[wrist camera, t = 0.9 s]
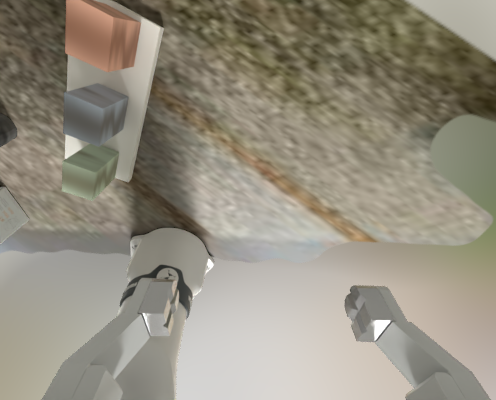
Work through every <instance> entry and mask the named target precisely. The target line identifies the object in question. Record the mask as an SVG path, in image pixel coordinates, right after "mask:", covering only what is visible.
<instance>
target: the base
mask: <svg viewBox="0 0 496 400" xmlns="http://www.w3.org/2000/svg"><path fill="white" fill-rule="evenodd" d="M94 1H97V2H101V3H104V4H107V5H109V6H111V7H113V8H114V9H116V10H118V11H120V12H122V13H124V14H126V15H128V16H130V17H131V18H133V19H135V20H137V21H139V22H141V27H140V33H139V39H138V45H137V51H136V57H135V63H134V67H130V68H125V69H121V70H116V71H111V72H105V71H103V70H101V69H99V68H97V67H95V66H92V65H90V64H88V63H86V62H84V61H81V60H79V59H77V58H75V57H73V56H71V55H68V68H67V91H71V90H75V89H78V88H82V87H85V86H89V85H93V84H96V83H99V84H101V85H103V86H106V87H108V88H110V89H112V90H115V91H117V92H119V93H121V94H124V95H126V96H128V97H129V99H128V104H127V110H126V116H125V122H124V128H123V130H122V131H120V132H119V133H118V134H116V135H115V136H113V137H112V138H111V139H109V140H108V141H106V142H105V143H104V144H102V146H104V147H107V148H110V149H112V150H115V151H118V152H119V158H118V164H117V170H116V176H115V178H117V179H119V180H122V181H125V182H129V181H130V180H131V179H132V174H133V170H134V165H135V160H136V156H137V151H138V146H139V142H140V137H141V132H142V128H143V123H144V118H145V114H146V109H147V104H148V100H149V95H150V91H151V86H152V81H153V77H154V72H155V67H156V63H157V58H158V53H159V49H160V44H161V39H162V35H163V30H164V28H163V27H161V26H159V25H158V24H156V23H154V22H152V21H150V20H148V19H146V18H145V17H143V16H141V15H139V14H137V13H135V12H133V11H132V10H130V9H128V8H126V7H124V6H122V5H120V4H119V3H117V2H115V1H113V0H94ZM88 144H90V143H87V142H85V141H82V140H79V139H77V138H74V137H71V136H69V135H66V139H65V159H67V158H68V157H70V156H71V155H73V154H74V153H76V152H78V151H79V150H81V149H82V148H84V147H85V146H87V145H88Z"/></svg>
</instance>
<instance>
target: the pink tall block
mask: <svg viewBox="0 0 496 400" xmlns="http://www.w3.org/2000/svg"><path fill="white" fill-rule="evenodd" d="M140 27H141V22H139V21H137V20H135V19H133V18H131V17H130V16H128V15H126V14H124V13H122V12H120V11H118V10H116V9H114V8H113V7H111V6H109V5H107V4H104V3H101V2H97V1H94V0H66V34H65V53H66V54H68V55H71V56H73V57H75V58H77V59H79V60H81V61H84V62H86V63H88V64H90V65H92V66H95V67H97V68H99V69H101V70H103V71H105V72H111V71H116V70H121V69H125V68H130V67H134V63H135V57H136V51H137V45H138V39H139V33H140Z"/></svg>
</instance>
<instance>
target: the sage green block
mask: <svg viewBox="0 0 496 400" xmlns="http://www.w3.org/2000/svg"><path fill="white" fill-rule="evenodd" d="M118 158H119V152H118V151H115V150H112V149H110V148H107V147H104V146H102V145H101V146H99V147H98V146H95V145H93V144H88V145H87V146H85V147H84V148H82V149H81V150H79V151H78V152H76V153H74V154H73V155H71V156H70V157H68V158H67V159H65V160H64V161H63V168H62V191H63V192H67V193H70V194H73V195H76V196H79V197H82V198H85V199H88V200H92V201H93V200H94V199H95V198H96V197H97V196H98V195H99V194H100V193H101V192H102V191H103V190H104V189H105V188H106V186H107V185H108V184H109V183H110V182H111V181H112V180H113V179H114V178H115V176H116V170H117V164H118Z"/></svg>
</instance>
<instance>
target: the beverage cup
mask: <svg viewBox="0 0 496 400" xmlns="http://www.w3.org/2000/svg"><path fill="white" fill-rule="evenodd" d="M16 136H17V129H16V127H15V125H14V123H13V122H12V121H11V120H10V119H9V118H8V117H6V116H5V115H3V114H1V113H0V147H1V146H3V145H5V144H7V143H8V142H9V141H11V140H12V139H14V138H15V137H16Z"/></svg>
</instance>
